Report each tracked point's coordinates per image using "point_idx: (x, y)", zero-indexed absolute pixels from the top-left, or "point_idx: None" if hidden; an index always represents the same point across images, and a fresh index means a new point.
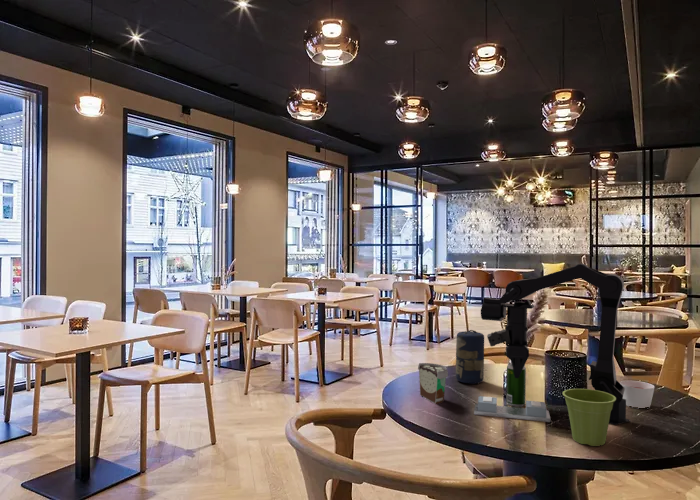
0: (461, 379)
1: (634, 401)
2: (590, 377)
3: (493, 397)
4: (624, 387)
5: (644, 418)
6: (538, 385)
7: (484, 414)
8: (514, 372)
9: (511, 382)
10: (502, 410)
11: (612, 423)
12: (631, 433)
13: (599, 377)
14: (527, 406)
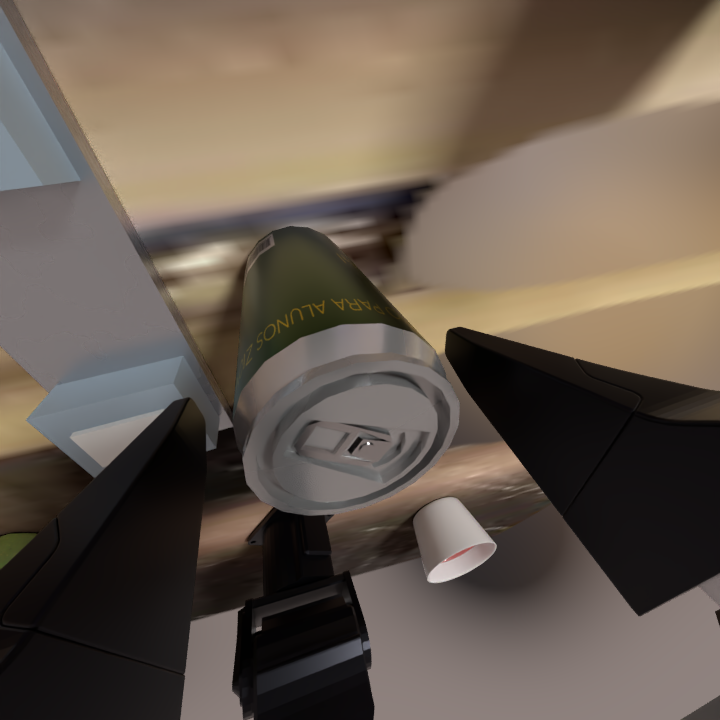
0: None
1: (418, 532)
2: (258, 688)
3: (14, 148)
4: (444, 551)
5: (346, 542)
6: (599, 307)
7: None
8: (133, 451)
9: (241, 322)
10: (2, 244)
11: (249, 538)
12: (209, 566)
13: (249, 711)
14: (35, 420)
